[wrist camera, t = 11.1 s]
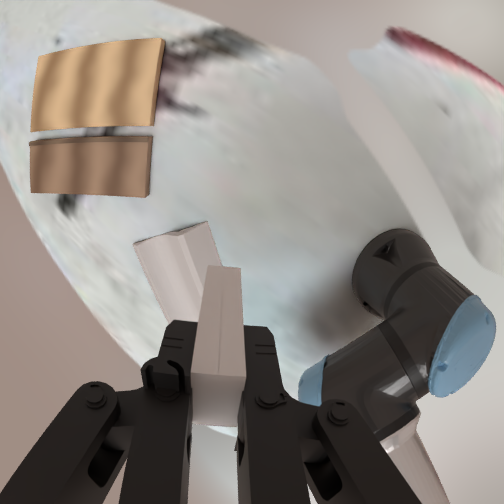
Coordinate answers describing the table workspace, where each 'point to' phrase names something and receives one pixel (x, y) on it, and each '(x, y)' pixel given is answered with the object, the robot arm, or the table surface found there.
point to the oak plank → (98, 85)
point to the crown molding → (179, 269)
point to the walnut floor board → (92, 165)
